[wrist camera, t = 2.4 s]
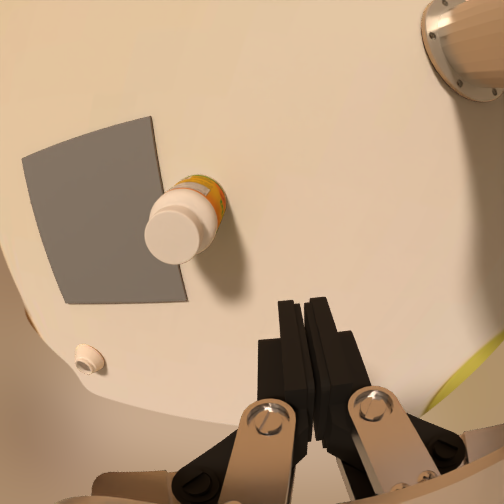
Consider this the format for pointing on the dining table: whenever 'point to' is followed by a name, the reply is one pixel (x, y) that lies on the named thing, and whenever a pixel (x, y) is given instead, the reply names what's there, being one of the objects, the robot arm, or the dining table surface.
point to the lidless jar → (88, 359)
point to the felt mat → (102, 215)
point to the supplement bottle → (185, 219)
